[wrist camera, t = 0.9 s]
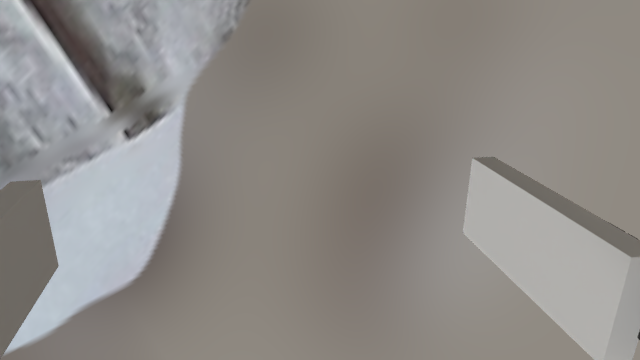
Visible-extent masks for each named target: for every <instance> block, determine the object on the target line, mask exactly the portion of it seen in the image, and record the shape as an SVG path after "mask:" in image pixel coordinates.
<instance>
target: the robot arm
mask: <svg viewBox="0 0 640 360" xmlns="http://www.w3.org/2000/svg"><path fill="white" fill-rule="evenodd" d="M463 233H464V234H465V235H466V236H467V237H468V238H469V239H470V240H471V241H472V242H473V243H474V244H475V245H476V246H477V247H478V248H479V249H480V250H481V251H482V252H483V253H484V254H485V255H486V256H487V257H488V258H489V259H490V260H491V261H493V262H494V263H495V264H496V265H497V266H498V267H499V268H500V269H501V270H502V271H503V272H504V273H505V274H506V275H507V276H508V277H509V278H510V279H511V280H512V281H513V282H514V283H515V284H516V285H517V286H518V287H519V288H521V289H522V290H523V291H524V292H525V293H526V294H527V295H528V296H529V297H530V298H531V299H532V300H533V301H534V302H535V303H536V304H537V305H538V306H539V307H541V309H542V310H543V311H544V312H545V313H546V314H547V315H548V316H550V317H551V318H552V319H553V320H554V321H555V322H556V323H557V324H558V325H559V326H560V327H561V328H562V329H563V330H564V331H565V332H566V333H567V334H568V335H569V336H570V337H571V338H572V339H573V340H574V341H576V343H578V344H579V345H580V346H581V347H582V348H583V349H584V350H585V351H586V352H587V353H588V354H589V355H590V356H591V357H592V358H593V359H594V360H632V359H633V356H634V352H635V349H636V346H637V342H638V339H639V340H640V240H638V239H637V238H635V237H633V236H632V235H630V234H627V233H626V232H625V231H623V230H621V229H619V228H618V227H616V226H614V225H612V224H611V223H609V222H607V221H605V220H603V219H601V218H600V217H598V216H596V215H594V214H592V213H591V212H589V211H587V210H586V209H584V208H582V207H580V206H579V205H577V204H575V203H573V202H571V201H570V200H568V199H566V198H564V197H563V196H561V195H559V194H558V193H556V192H554V191H552V190H551V189H549V188H547V187H545V186H544V185H542V184H540V183H538V182H537V181H535V180H533V179H531V178H530V177H528V176H526V175H524V174H523V173H521V172H519V171H517V170H516V169H514V168H512V167H511V166H509V165H507V164H505V163H503V162H502V161H500V160H498V159H496V158H495V157H482V158H473V159H472V165H471V174H470V181H469V189H468V197H467V204H466V212H465V220H464V227H463ZM57 268H58V261H57V256H56V251H55V247H54V242H53V237H52V232H51V227H50V223H49V218H48V213H47V208H46V204H45V199H44V194H43V189H42V185H41V180H35V181H16V182H10V183H9V184H7V185H6V186H5V187H4V188H3V189H1V190H0V359H1V357H2V355H3V354H4V352H5V351H6V349H7V347H8V346H9V344H10V343H11V341H12V339H13V338H14V336H15V335H16V333H17V331H18V330H19V328H20V327H21V325H22V323H23V322H24V320H25V319H26V317H27V315H28V314H29V312H30V311H31V309H32V307H33V306H34V304H35V303H36V301H37V299H38V298H39V296H40V295H41V293H42V291H43V290H44V288H45V287H46V285H47V284H48V282H49V280H50V279H51V277H52V276H53V274H54V272H55V271H56V269H57Z"/></svg>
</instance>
